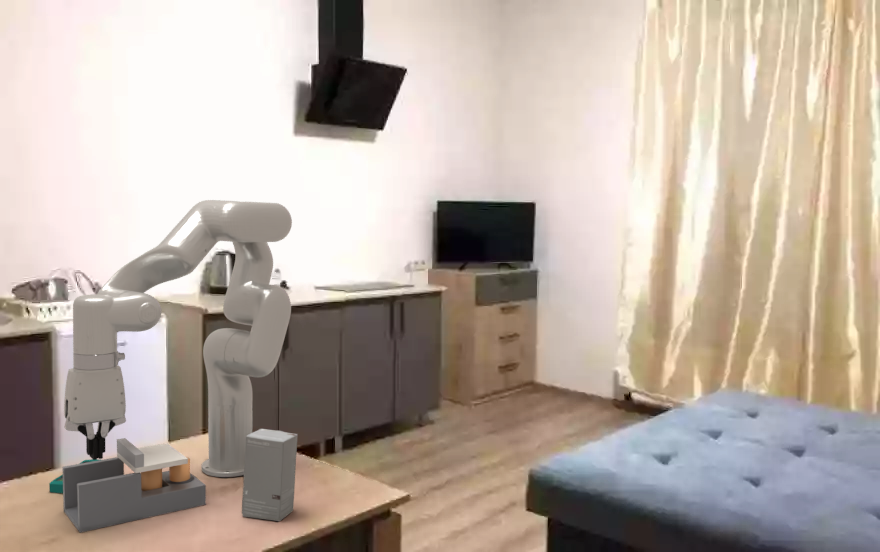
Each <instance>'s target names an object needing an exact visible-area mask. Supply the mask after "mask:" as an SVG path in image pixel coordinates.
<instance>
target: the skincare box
mask: <svg viewBox="0 0 880 552" xmlns="http://www.w3.org/2000/svg"><path fill="white" fill-rule="evenodd" d="M297 448H298V433H291V432H286V431H283V430H274V429H266V428H259V429H258V430H255V431H252V433H251V434H249V435H247V436H246V446H245V464H244V475H243V484H242V499H241V500H242V502H241V515H242V517H245V518H253V519H260V520H268V521H275V522H281V521H282V520H283V519H284V518H286V517H287V516H288V515H290V514H291V513H293V511H294V503H295V488H296V487H295V486H296V485H295V484H296V467H297V452H298V451H297V450H298V449H297Z"/></svg>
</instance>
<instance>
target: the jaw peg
mask: <svg viewBox="0 0 880 552" xmlns="http://www.w3.org/2000/svg"><path fill="white" fill-rule="evenodd" d="M162 472H163V468H161V469H156V470H151V471H145V472H140V473H141V490H142V491H147V490H152V489H157V488H162Z"/></svg>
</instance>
